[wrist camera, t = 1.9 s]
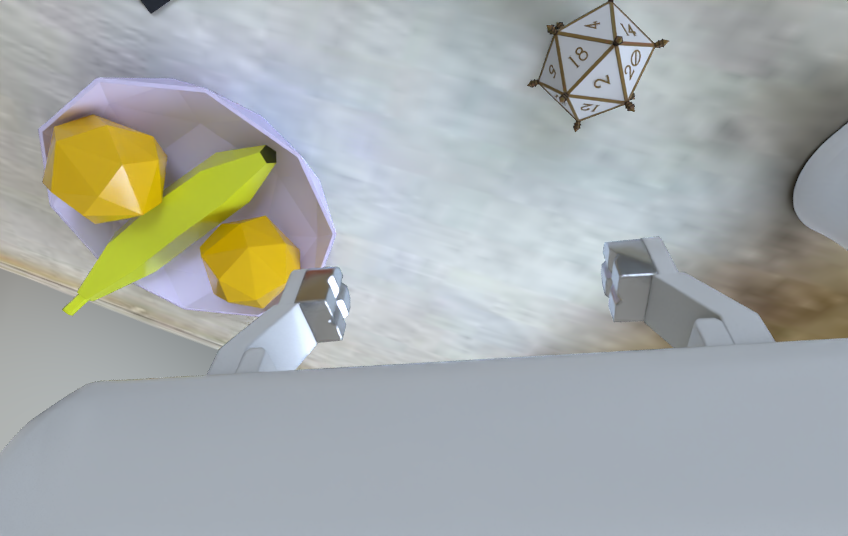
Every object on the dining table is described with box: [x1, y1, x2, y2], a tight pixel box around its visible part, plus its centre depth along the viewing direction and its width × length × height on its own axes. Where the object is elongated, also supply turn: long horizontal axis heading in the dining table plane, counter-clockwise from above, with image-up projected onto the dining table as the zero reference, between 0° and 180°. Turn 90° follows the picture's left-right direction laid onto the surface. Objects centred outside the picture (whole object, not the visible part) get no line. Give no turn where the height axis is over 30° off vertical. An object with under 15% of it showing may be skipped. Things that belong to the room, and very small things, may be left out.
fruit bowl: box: [38, 78, 336, 317], centre depth 46 cm, size 28×27×11 cm
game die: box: [527, 0, 669, 132], centre depth 35 cm, size 9×8×10 cm
